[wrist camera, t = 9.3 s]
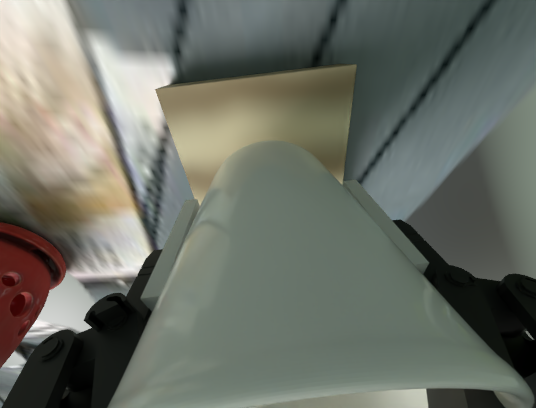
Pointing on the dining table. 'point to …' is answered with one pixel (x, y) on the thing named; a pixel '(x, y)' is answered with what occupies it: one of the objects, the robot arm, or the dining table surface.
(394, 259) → the candle holder
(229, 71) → the dining table surface
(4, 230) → the plant pot
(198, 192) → the plinth
